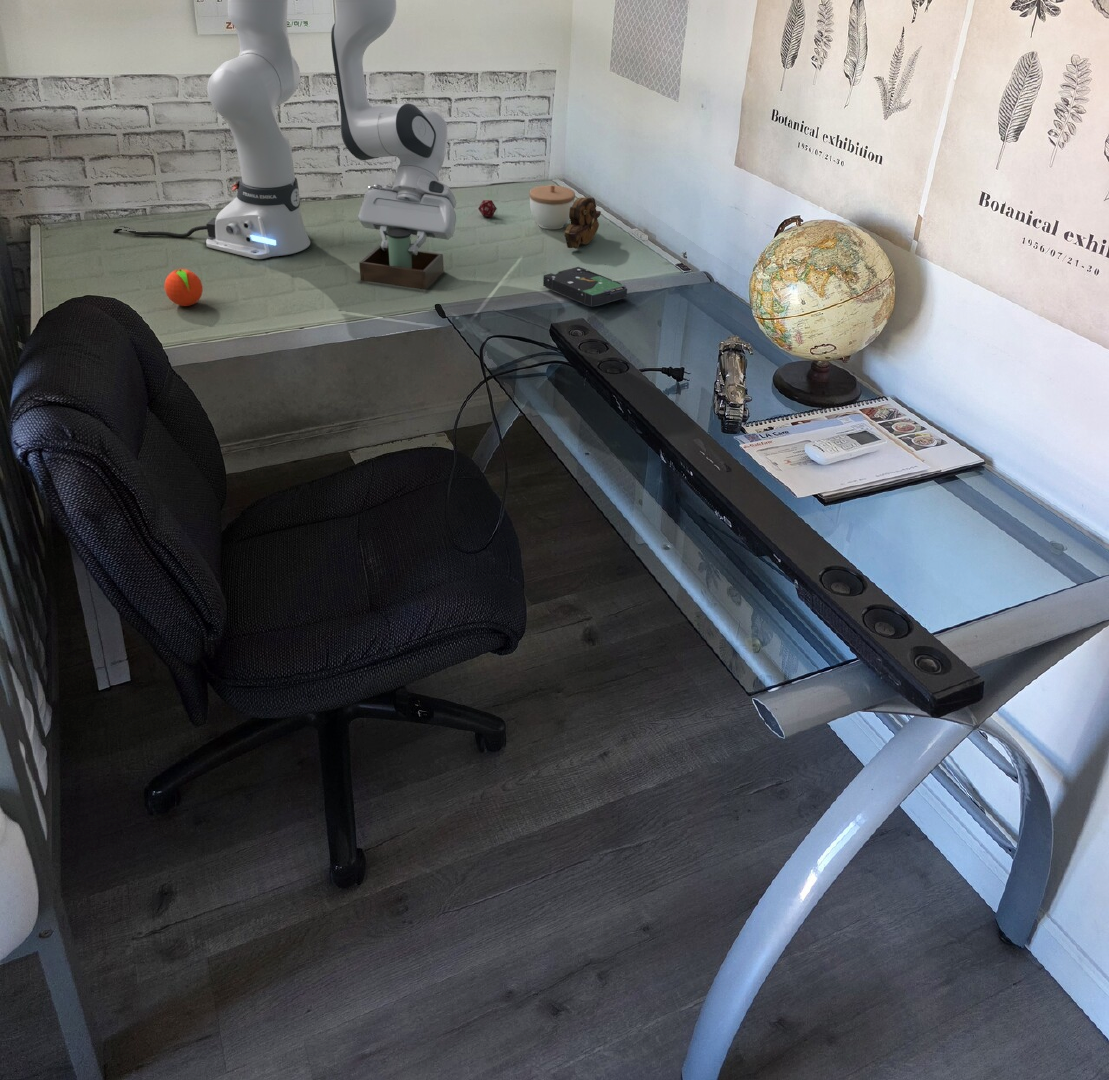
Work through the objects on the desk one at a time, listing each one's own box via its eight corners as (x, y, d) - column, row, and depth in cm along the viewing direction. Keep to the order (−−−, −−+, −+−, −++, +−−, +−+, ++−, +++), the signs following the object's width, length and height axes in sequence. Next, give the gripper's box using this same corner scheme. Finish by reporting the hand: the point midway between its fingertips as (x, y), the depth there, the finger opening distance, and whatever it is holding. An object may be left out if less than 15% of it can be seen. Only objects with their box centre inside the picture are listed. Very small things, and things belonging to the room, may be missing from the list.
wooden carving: (581, 257, 221) (583, 212, 215) (562, 253, 223) (564, 209, 217) (602, 233, 234) (605, 190, 228) (584, 230, 235) (586, 187, 229)
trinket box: (568, 235, 232) (570, 194, 227) (524, 230, 234) (525, 190, 228) (577, 220, 241) (579, 180, 235) (534, 215, 242) (535, 176, 236)
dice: (477, 214, 241) (477, 197, 239) (496, 214, 242) (496, 197, 239) (478, 219, 238) (478, 203, 236) (497, 219, 239) (497, 203, 236)
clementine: (211, 309, 193) (205, 274, 188) (175, 316, 190) (168, 281, 185) (199, 295, 198) (193, 260, 194) (164, 301, 195) (156, 266, 191)
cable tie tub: (385, 274, 206) (383, 234, 201) (394, 266, 210) (392, 226, 205) (407, 277, 205) (405, 237, 200) (415, 269, 209) (414, 229, 204)
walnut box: (360, 282, 206) (359, 262, 203) (380, 264, 214) (379, 245, 211) (426, 292, 203) (425, 272, 200) (443, 273, 211) (443, 254, 209)
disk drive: (541, 288, 206) (591, 308, 197) (542, 275, 204) (592, 294, 196) (577, 279, 212) (627, 298, 203) (578, 266, 211) (628, 284, 202)
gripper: (362, 175, 205) (346, 238, 203) (456, 188, 201) (441, 251, 200) (372, 191, 211) (357, 251, 209) (463, 203, 207) (448, 265, 206)
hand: (398, 251), depth 204 cm, fingers closed on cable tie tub, 4 cm apart
